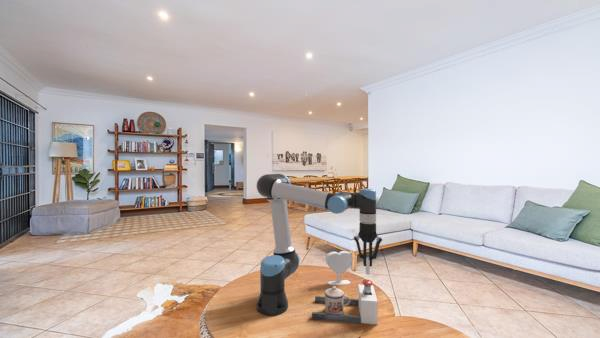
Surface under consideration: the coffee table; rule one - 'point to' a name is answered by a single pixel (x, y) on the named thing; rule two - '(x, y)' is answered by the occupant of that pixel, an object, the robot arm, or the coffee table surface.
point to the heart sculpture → (339, 265)
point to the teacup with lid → (335, 301)
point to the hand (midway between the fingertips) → (367, 273)
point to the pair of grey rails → (336, 316)
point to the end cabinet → (368, 306)
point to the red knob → (367, 287)
